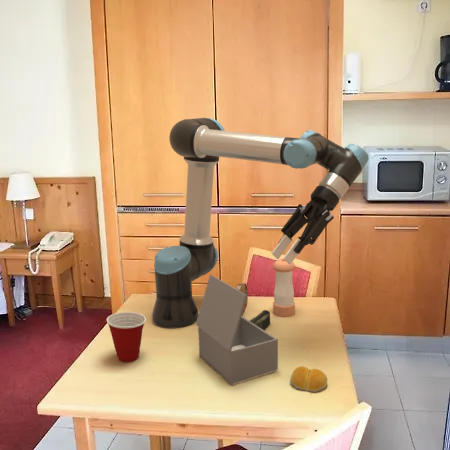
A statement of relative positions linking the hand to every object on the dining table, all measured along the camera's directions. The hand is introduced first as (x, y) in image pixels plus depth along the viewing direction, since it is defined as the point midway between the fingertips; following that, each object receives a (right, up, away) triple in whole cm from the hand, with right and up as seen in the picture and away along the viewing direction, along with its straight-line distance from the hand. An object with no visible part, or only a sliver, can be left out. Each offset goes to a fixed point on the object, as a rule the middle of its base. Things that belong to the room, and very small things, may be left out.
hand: (280, 258), depth 140 cm
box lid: (-16, -13, -6) cm, 22 cm away
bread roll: (+6, -31, -11) cm, 33 cm away
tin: (-10, -20, +36) cm, 43 cm away
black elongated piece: (-5, -24, +19) cm, 31 cm away
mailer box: (-12, -28, -1) cm, 31 cm away
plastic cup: (-42, -28, +5) cm, 51 cm away
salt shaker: (+5, -21, +33) cm, 39 cm away
